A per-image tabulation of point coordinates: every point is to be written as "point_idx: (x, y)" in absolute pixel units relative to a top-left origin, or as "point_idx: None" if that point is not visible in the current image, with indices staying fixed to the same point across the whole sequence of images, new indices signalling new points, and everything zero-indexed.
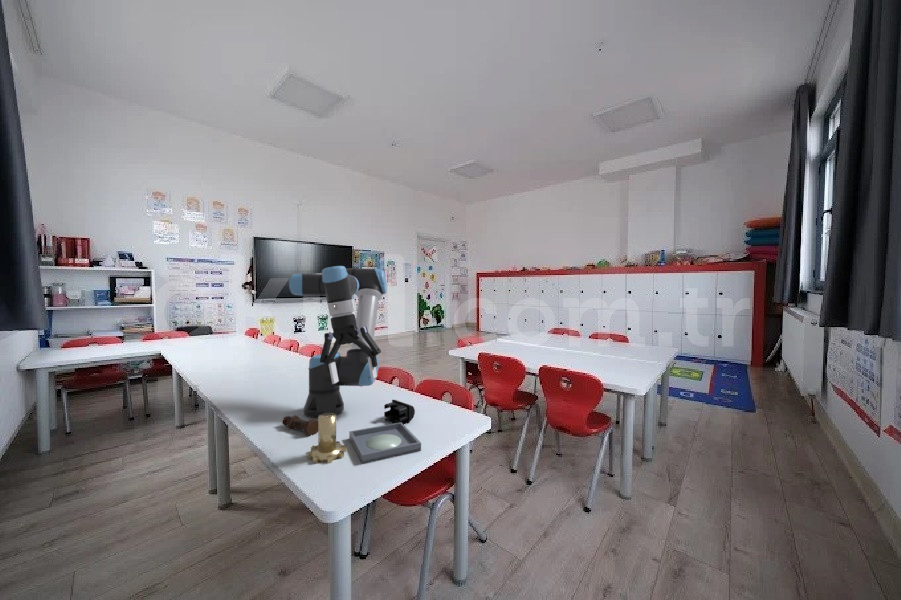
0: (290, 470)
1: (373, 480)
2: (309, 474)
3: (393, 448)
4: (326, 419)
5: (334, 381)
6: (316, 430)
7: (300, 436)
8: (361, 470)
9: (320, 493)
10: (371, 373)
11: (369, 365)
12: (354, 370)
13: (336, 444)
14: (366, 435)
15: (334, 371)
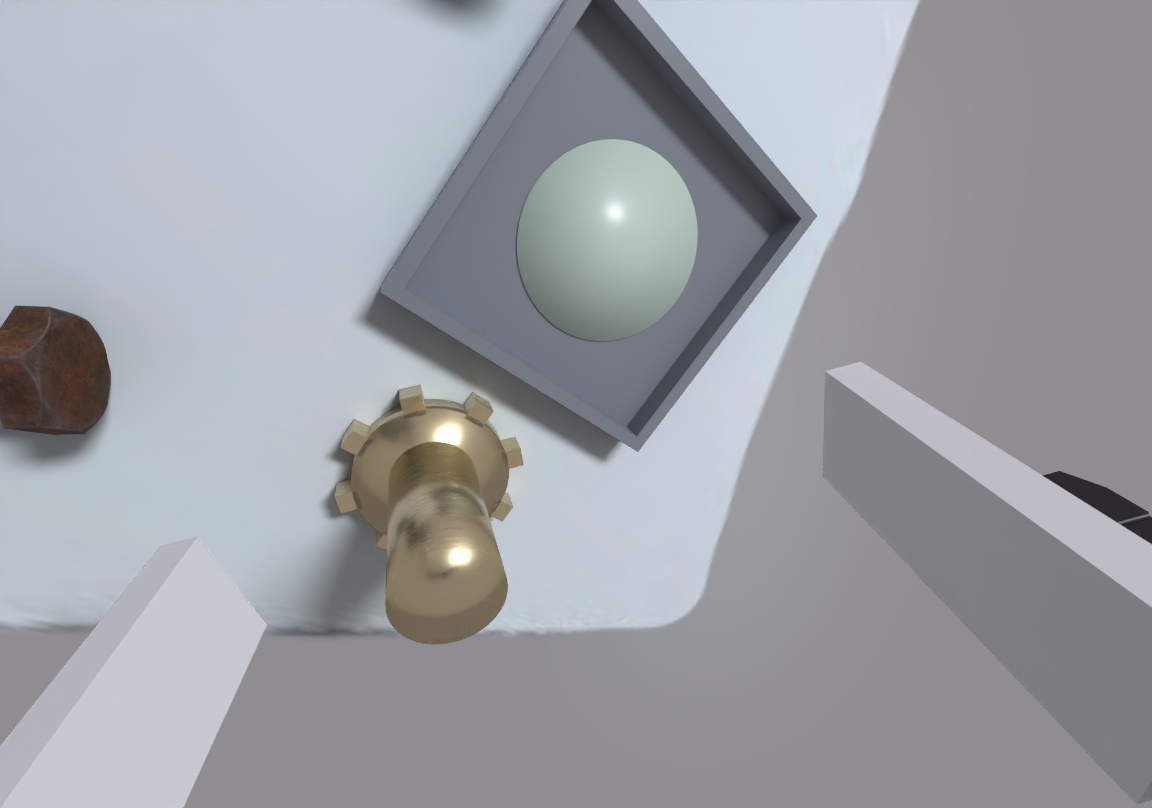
0: None
1: (716, 483)
2: None
3: (725, 333)
4: (487, 620)
5: (247, 643)
6: (88, 340)
7: None
8: (648, 466)
9: (616, 607)
10: (886, 522)
11: (989, 638)
12: None
13: (432, 425)
14: (468, 225)
15: (126, 776)
